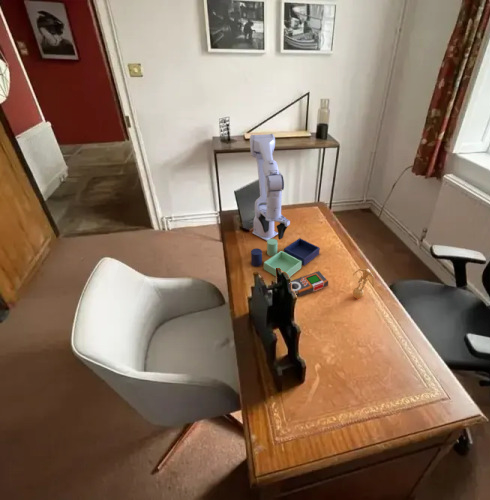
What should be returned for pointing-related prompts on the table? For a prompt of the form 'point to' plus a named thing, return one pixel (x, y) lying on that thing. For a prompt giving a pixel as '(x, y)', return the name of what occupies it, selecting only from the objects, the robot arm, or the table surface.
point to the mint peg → (272, 247)
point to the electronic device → (309, 283)
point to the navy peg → (256, 257)
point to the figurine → (358, 291)
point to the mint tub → (282, 264)
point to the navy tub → (302, 251)
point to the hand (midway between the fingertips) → (273, 234)
